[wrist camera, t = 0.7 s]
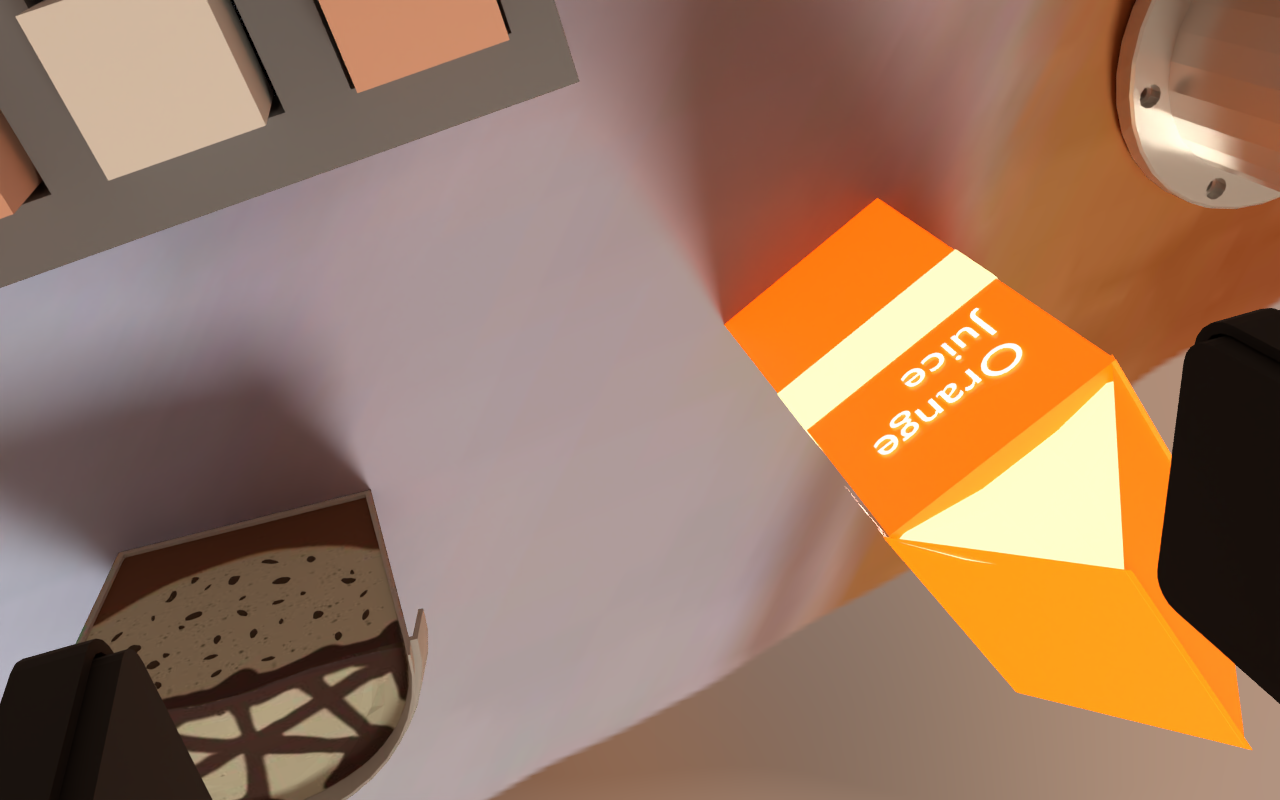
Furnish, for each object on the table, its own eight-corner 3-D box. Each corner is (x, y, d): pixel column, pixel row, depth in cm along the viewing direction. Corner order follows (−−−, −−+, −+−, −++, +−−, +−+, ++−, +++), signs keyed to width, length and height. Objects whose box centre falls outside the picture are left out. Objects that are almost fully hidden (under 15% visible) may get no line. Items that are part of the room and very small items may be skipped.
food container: (138, 685, 43) (87, 900, 34) (76, 563, 40) (3, 765, 31) (445, 602, 44) (471, 788, 36) (409, 479, 41) (427, 650, 33)
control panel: (465, -242, 31) (476, -249, 28) (562, 63, 36) (579, 81, 33) (-296, 9, 29) (-357, 26, 27) (-93, 295, 34) (-128, 333, 31)
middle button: (204, -56, 30) (187, -42, 27) (273, 94, 32) (265, 125, 29) (52, -5, 30) (14, 16, 27) (132, 143, 32) (108, 180, 29)
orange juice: (879, 194, 41) (1275, 459, 23) (982, 346, 45) (1379, 664, 28) (719, 326, 42) (986, 675, 24) (834, 463, 46) (1130, 840, 29)
